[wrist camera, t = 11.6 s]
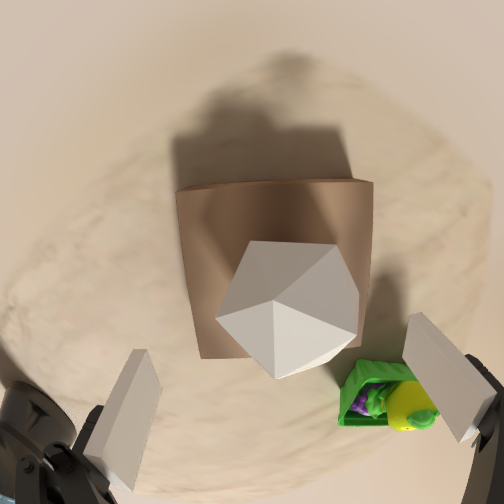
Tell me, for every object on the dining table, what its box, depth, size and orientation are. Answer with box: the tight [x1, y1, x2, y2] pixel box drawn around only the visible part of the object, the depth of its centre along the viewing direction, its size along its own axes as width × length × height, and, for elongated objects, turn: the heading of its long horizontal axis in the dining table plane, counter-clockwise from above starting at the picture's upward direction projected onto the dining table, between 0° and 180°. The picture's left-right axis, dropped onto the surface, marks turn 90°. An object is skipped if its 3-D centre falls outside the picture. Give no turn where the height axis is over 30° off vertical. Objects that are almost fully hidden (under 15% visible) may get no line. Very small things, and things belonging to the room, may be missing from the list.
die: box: [215, 241, 359, 380], centre depth 18 cm, size 8×9×10 cm
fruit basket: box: [338, 359, 440, 431], centre depth 25 cm, size 11×9×11 cm
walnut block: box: [175, 178, 373, 359], centre depth 24 cm, size 14×14×5 cm
